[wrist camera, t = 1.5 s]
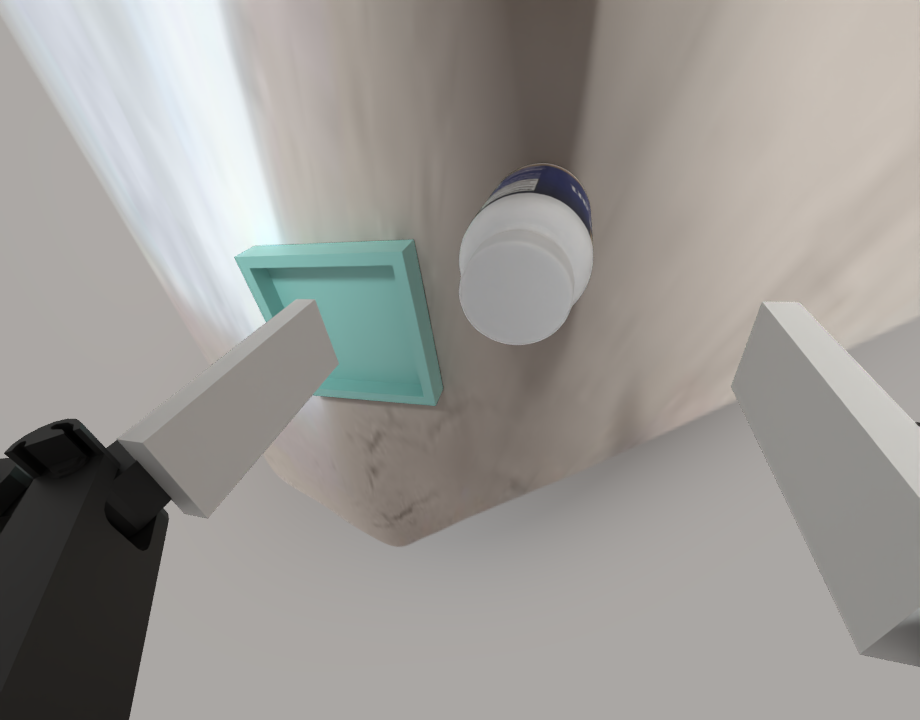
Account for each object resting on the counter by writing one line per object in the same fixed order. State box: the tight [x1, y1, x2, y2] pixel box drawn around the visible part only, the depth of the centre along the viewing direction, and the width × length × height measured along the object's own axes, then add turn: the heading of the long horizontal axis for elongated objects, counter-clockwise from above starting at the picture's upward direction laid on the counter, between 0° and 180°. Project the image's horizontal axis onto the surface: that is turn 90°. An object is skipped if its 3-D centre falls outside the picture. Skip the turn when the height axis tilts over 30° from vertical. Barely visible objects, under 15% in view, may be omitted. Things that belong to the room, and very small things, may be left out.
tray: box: [234, 239, 443, 406], centre depth 28 cm, size 12×12×2 cm
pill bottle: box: [459, 163, 593, 345], centre depth 17 cm, size 5×5×10 cm
